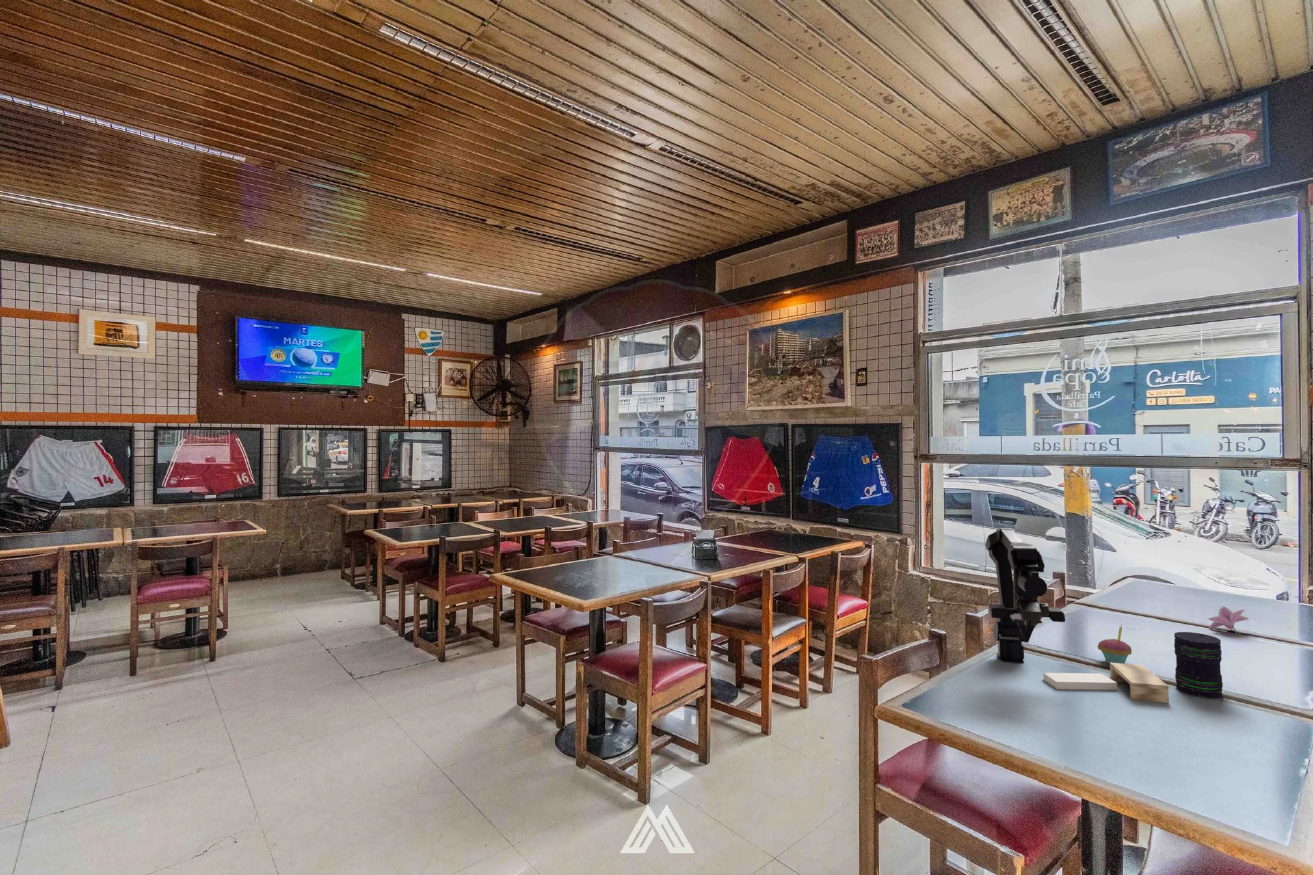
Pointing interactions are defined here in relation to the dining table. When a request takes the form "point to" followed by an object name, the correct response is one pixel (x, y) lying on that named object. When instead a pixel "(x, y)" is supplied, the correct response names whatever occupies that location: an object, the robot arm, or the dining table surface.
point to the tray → (1080, 681)
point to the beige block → (1140, 682)
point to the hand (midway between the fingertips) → (1026, 642)
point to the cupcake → (1115, 649)
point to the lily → (1227, 618)
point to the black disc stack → (1198, 665)
